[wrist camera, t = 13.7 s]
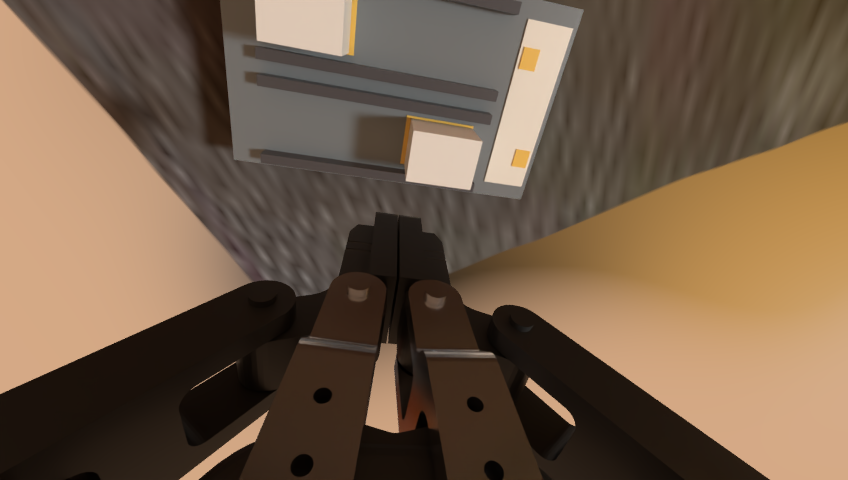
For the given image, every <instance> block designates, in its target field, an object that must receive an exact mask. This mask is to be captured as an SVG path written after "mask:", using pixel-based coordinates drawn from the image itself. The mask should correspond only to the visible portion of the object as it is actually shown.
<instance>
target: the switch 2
mask: <svg viewBox="0 0 848 480" xmlns="http://www.w3.org/2000/svg"><path fill="white" fill-rule="evenodd" d="M482 142H483V141H482V140H481V139H480V138H479V137H478V135H477V134H476V133H475V132H474V130H473V129H472V128H467V127H461V126H455V125H449V124H443V123H437V122H431V121H425V120H419V119H413V118H411V123H410V129H409V136H408V142H407V149H406V155H405V162H404V167H405V179H406V181H408V182H415V183H423V184H430V185H437V186H444V187H451V188H458V189H465V190H470V189H471V185H472V182H473V178H474V174H475V170H476V166H477V162H478V158H479V154H480V150H481V146H482Z"/></svg>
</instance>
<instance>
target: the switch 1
mask: <svg viewBox="0 0 848 480" xmlns="http://www.w3.org/2000/svg"><path fill="white" fill-rule="evenodd" d="M351 10H352V0H255V13H256V34H257V41H262V42H267V43H273V44H278V45H283V46H289V47H294V48H299V49H305V50H310V51H315V52H321V53H326V54H331V55H337V56H344V55H346V54H348V53H349V41H350V26H351Z"/></svg>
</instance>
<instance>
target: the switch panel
mask: <svg viewBox="0 0 848 480" xmlns="http://www.w3.org/2000/svg"><path fill="white" fill-rule="evenodd" d="M220 6H221V17H222V29H223V40H224V52H225V63H226V74H227V86H228V97H229V109H230V120H231V131H232V143H233V154H234V160H241V161H248V162H255V163H262V164H270V165H277V166H284V167H291V168H298V169H306V170H313V171H320V172H327V173H334V174H342V175H349V176H356V177H363V178H370V179H378V180H385V181H392V182H399V183H406V184H413V185H421V186H428V187H435V188H442V189H449V190H457V191H464V192H471V193H478V194H485V195H493V196H500V197H507V198H514V199H521V197H522V194H523V191H524V188H525V185H526V182H527V179H528V176H529V173H530V170H531V167H532V164H533V161H534V158H535V155H536V152H537V149H538V146H539V143H540V140H541V137H542V134H543V131H544V128H545V125H546V122H547V119H548V116H549V113H550V110H551V107H552V104H553V101H554V98H555V95H556V92H557V89H558V86H559V83H560V80H561V77H562V74H563V71H564V68H565V65H566V62H567V59H568V56H569V53H570V50H571V47H572V44H573V41H574V38H575V35H576V32H577V29H578V26H579V23H580V20H581V17H582V14H583V11H584V10H582V9H578V8H573V7H569V6H565V5H560V4H556V3H552V2H547V1H543V0H352V10H351V26H350V41H349V53H348V54H346V55H344V56H337V55H331V54H326V53H321V52H315V51H310V50H305V49H299V48H294V47H289V46H283V45H278V44H273V43H267V42H262V41H257V34H256V13H255V0H220ZM411 118H413V119H419V120H425V121H431V122H437V123H443V124H449V125H455V126H461V127H467V128H472V129H473V130H474V132H475V133H476V134H477V135H478V137H479V138H480V139H481V140H482V141H483V142H482V146H481V150H480V154H479V158H478V162H477V166H476V170H475V174H474V178H473V182H472V185H471V189H470V190H465V189H458V188H451V187H444V186H437V185H430V184H423V183H415V182H408V181H406V179H405V167H404V162H405V155H406V149H407V142H408V136H409V129H410V123H411Z"/></svg>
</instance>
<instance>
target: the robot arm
mask: <svg viewBox="0 0 848 480" xmlns="http://www.w3.org/2000/svg"><path fill="white" fill-rule="evenodd" d="M388 328H389V338H388V339H389V341H388V343H391V344H397V355H396V360H395V365H394V372H395V386H396V399H397V412H398V425H399V433H391V432H387V431H384V430H380V429H377V428H374V427H371V426H367V425H365V424H366V417H367V411H368V406H369V400H370V394H371V388H372V382H373V376H374V370H375V363H376V361H377V360H378V357H379V353H380V347H381V343H386V340H387V333H388ZM234 362H236V363H234ZM232 363H234V364H233V365H231V364H232ZM229 365H231V366H229ZM227 366H229V367H228V368H226V367H227ZM224 368H226V369H224ZM222 369H224V370H223V371H221V370H222ZM219 371H221V372H219ZM217 372H219V373H218V374H216V373H217ZM214 374H216V375H215V376H213V377H211V376H212V375H214ZM209 377H211V378H210V379H208V378H209ZM529 377H530V378H531V379H532V380H533V381H534V382H536V383H537V384H538V385H539V386H540V387H541V388H543V389H544V390H545V391H546V392H547V393H549V394H550V395H551V396H552V397H553V398H555V399H556V400H557V401H558V402H559V403H560V404H562V405H563V406H564V407H565V408H566V409H567V410H568V411H569V412H570V413H571V415H572V416H573V418H574V421H575V426H573V425H571V424H569V423H568V422H567V421H565V420H564V419H563V418H562V417H561V416H560V415H558V414H557V413H556V412H555V411H554V410H553V409H552V408H550V407H549V406H548V405H547V404H546V403H545V402H544V401H542V400H541V399H540V398H539V397H538V396H537V395H535V394H534V393H533V392H532V391H531V390H530V389H528V388H527V387H526V386H525V385H526V382H527V380H528V378H529ZM206 379H208V380H206ZM204 380H206V381H205V382H203V383H202V384H200V385H199V386H197V387H195V386H196V385H198V384H199V383H201V382H202V381H204ZM193 387H195V388H193ZM192 388H193V389H192ZM191 389H192V390H191ZM268 410H269V411H268ZM267 411H268V414H267V416H266V418H265V420H264V423H263V425H262V428H261V430H260V432H259V435H258V437H257V439H256V441H255V442H254V443H251V444H249V445H247V446H245V447H243V448H242V449H240V450H238V451H236V452H234V453H233V454H231V455H230V456H229V457H227V458H225V459H224V460H223V461H221V462H220V463H218V464H217V465H216V466H214V467H213V468H212V469H211V470H209V472H207V473H206V474H205V475H204V476H202V477H201V478H200V479H199V480H769V479H768V478H766V477H765V476H764V475H762V474H761V473H759V472H758V471H757V470H755V469H754V468H753V467H751V466H750V465H748V464H747V463H745V462H744V461H742V460H741V459H740V458H738V457H737V456H736V455H734V454H733V453H731V452H730V451H728V450H727V449H726V448H724V447H723V446H721V445H720V444H719V443H717V442H716V441H714V440H713V439H712V438H710V437H708V436H707V435H706V434H704V433H703V432H702V431H700V430H699V429H697V428H696V427H695V426H693V425H692V424H690V423H689V422H687V421H686V420H685V419H683V418H682V417H680V416H679V415H678V414H676V413H675V412H673V411H672V410H671V409H669V408H668V407H666V406H665V405H663V404H662V403H661V402H659V401H658V400H656V399H655V398H654V397H652V396H651V395H649V394H648V393H647V392H645V391H644V390H642V389H641V388H639V387H638V386H637V385H635V384H634V383H632V382H631V381H630V380H628V379H627V378H625V377H624V376H622V375H621V374H620V373H618V372H617V371H615V370H614V369H613V368H611V367H610V366H608V365H607V364H606V363H604V362H603V361H601V360H600V359H598V358H597V357H595V356H594V355H593V354H591V353H590V352H589V351H587V350H586V349H584V348H583V347H581V346H580V345H579V344H577V343H576V342H575V341H573V340H572V339H570V338H569V337H567V336H566V335H565V334H563V333H562V332H560V331H559V330H558V329H556V328H555V327H553V326H552V325H551V324H549V323H548V322H546V321H545V320H543V319H542V318H541V317H539V316H538V315H536V314H535V313H533V312H532V311H530V310H528V309H526V308H523V307H520V306H515V305H504V306H500V307H498V308H497V309H496V310H495V311H494V313H493V315H492V316H491V315H488V314H485V313H482V312H479V311H476V310H473V309H471V308H469V307H467V306H465V305H464V304H463V302H462V298H461V296H460V294H459V293H458V291H457V290H456V289H455V288H453V287H452V286H451V285H450V280H449V275H448V270H447V265H446V261H445V255H444V250H443V245H442V242H441V241H440V240H439V238H438V237H437V236H436V235H435V234H433V233H425V232H422V224H421V218H419V217H412V216H404V215H399V218H398V215H396V214H388V213H380V212H376V217H375V224H374V226H368V225H359V224H358V225H357V226H356V227H355V228H353V229H352V230H351V231H350V233H349V237H348V242H347V245H346V250H345V253H344V257H343V261H342V265H341V269H340V273H339V276H338V277H336V278H335V279H334V280H333V281H332V283H331V284H330V287H329V289H328V290H326V291H323V292H321V293H317V294H313V295H306V296H298V297H296V295H295V292H294V291H293V289H292V288H291V287H290V286H288V285H286V284H284V283H281V282H278V281H268V280H265V281H257V282H252V283H249V284H246V285H244V286H241V287H239V288H237V289H235V290H233V291H230V292H228V293H226V294H224V295H221V296H219V297H217V298H215V299H212V300H210V301H208V302H206V303H203V304H201V305H199V306H197V307H195V308H192V309H190V310H188V311H186V312H183V313H181V314H179V315H177V316H175V317H172V318H170V319H168V320H165V321H163V322H161V323H159V324H156V325H154V326H152V327H150V328H148V329H145V330H143V331H141V332H139V333H136V334H134V335H132V336H130V337H128V338H125V339H123V340H121V341H118V342H116V343H114V344H112V345H109V346H107V347H105V348H103V349H100V350H98V351H96V352H94V353H91V354H89V355H87V356H85V357H82V358H80V359H78V360H76V361H74V362H71V363H69V364H67V365H65V366H62V367H60V368H58V369H56V370H53V371H51V372H49V373H47V374H44V375H42V376H40V377H38V378H36V379H33V380H31V381H29V382H27V383H24V384H22V385H20V386H18V387H15V388H13V389H11V390H9V391H6V392H5V393H2V394H0V480H179V479H180V478H181V477H183V476H184V475H185V474H187V473H188V472H189V471H191V470H192V469H193V468H194V467H196V466H197V465H198V464H199V463H201V462H202V461H203V460H205V459H206V458H207V457H209V456H210V455H211V454H213V453H214V452H215V451H216V450H217V449H219V448H220V447H222V446H223V445H224V444H225V443H227V442H228V441H229V440H231V439H232V438H233V437H235V436H236V435H237V434H238V433H240V432H241V431H242V430H243V429H245V428H246V427H247V426H249V425H250V424H251V423H253V422H254V421H255V420H257V419H258V418H259V417H260V416H262V415H263V414H264V413H266V412H267Z"/></svg>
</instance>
